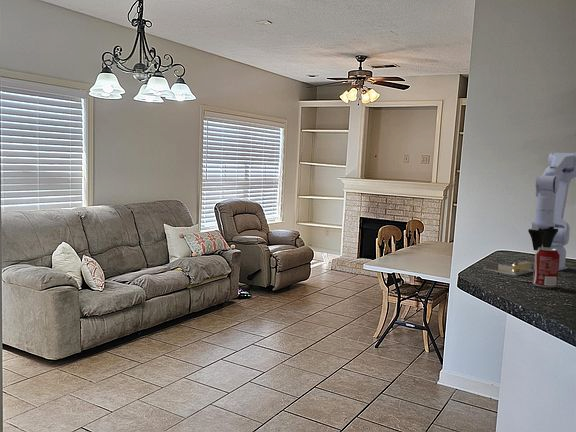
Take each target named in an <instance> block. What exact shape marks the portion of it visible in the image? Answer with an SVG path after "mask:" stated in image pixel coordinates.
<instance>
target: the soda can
mask: <svg viewBox="0 0 576 432" xmlns="http://www.w3.org/2000/svg"><path fill="white" fill-rule="evenodd" d="M559 259H560V255H559V253H558V249H555V248H548V247H538V250H537V251H536V252H535V255H534V263H533V265H534V267H533V277H532V278H533V279H532V284H533V285H535V286H536V287H538V288H542V289H554V288H557V287H558V282H559V281H558V280H559V279H558V278H559V271H560V270H559ZM558 270H559V271H558Z"/></svg>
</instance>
